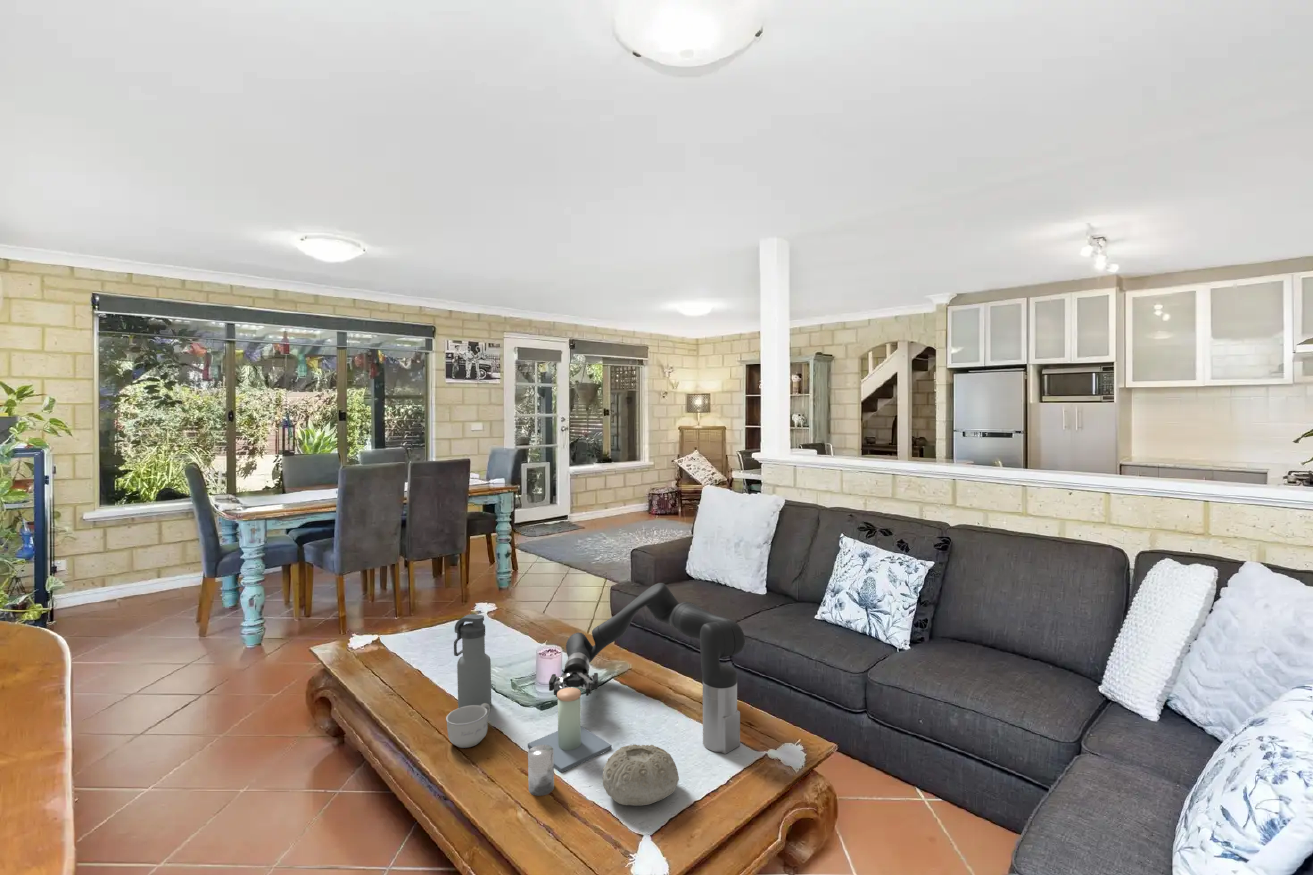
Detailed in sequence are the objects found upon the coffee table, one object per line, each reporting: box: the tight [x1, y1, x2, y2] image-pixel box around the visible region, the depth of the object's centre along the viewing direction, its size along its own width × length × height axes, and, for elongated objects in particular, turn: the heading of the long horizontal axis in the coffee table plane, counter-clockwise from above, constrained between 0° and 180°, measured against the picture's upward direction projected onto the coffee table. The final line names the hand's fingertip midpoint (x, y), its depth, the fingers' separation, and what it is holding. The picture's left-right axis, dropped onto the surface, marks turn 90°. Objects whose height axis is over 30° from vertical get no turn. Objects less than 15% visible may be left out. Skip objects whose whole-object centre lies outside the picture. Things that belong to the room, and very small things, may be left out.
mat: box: [527, 725, 612, 773], centre depth 168 cm, size 16×16×1 cm
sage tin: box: [556, 687, 582, 750], centre depth 168 cm, size 6×6×14 cm
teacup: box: [445, 703, 491, 749], centre depth 172 cm, size 14×11×8 cm
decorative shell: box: [602, 743, 680, 807], centre depth 148 cm, size 18×18×10 cm
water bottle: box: [453, 613, 492, 709], centre depth 190 cm, size 10×10×28 cm
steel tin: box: [527, 745, 555, 797], centre depth 150 cm, size 6×6×9 cm
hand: (571, 693), depth 177 cm, fingers open, 8 cm apart
